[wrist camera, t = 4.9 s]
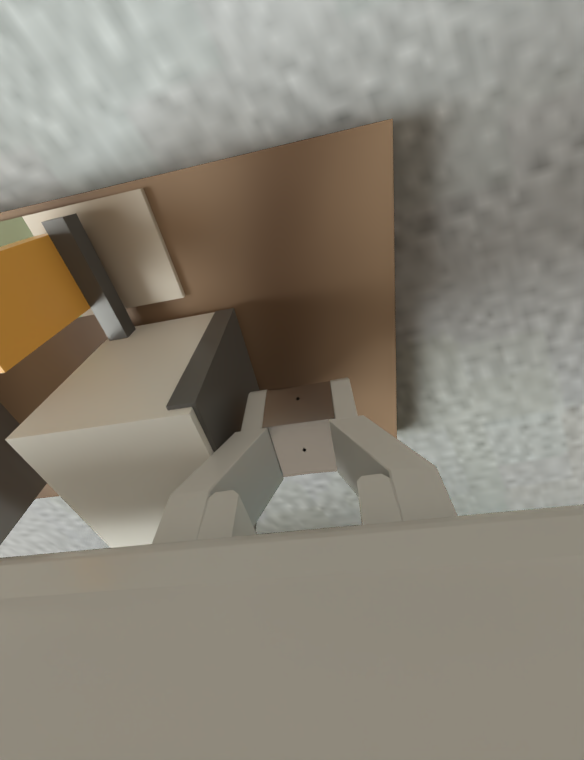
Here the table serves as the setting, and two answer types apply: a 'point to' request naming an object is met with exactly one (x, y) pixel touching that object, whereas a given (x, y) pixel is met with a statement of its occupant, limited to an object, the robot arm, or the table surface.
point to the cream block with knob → (134, 405)
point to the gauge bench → (235, 274)
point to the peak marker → (34, 297)
